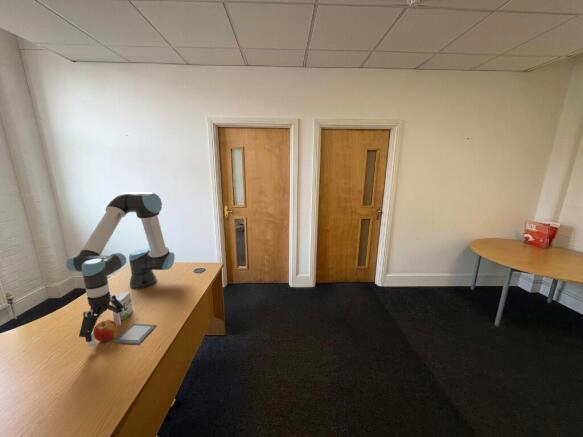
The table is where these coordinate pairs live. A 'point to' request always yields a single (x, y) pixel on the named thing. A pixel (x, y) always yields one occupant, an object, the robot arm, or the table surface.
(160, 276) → the table surface
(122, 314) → the ink box
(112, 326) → the apple
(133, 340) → the coaster
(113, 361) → the table surface
